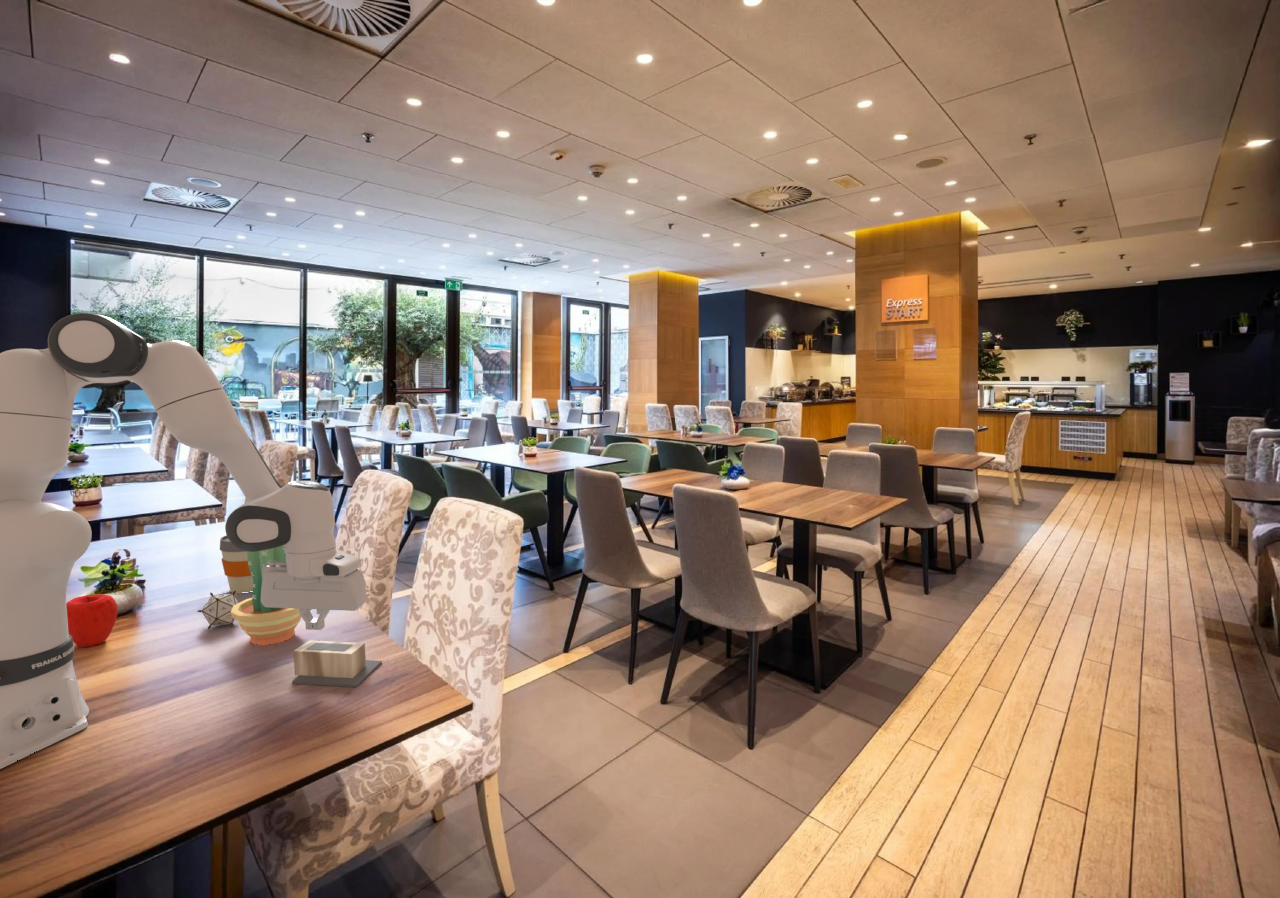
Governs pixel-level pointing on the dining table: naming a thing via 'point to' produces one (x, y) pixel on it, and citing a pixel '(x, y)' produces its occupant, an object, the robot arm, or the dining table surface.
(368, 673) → the mat
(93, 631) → the apple
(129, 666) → the dining table surface
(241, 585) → the reusable coffee cup
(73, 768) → the dining table surface
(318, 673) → the birch block
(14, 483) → the robot arm
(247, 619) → the potted cactus
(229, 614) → the game die
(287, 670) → the dining table surface
